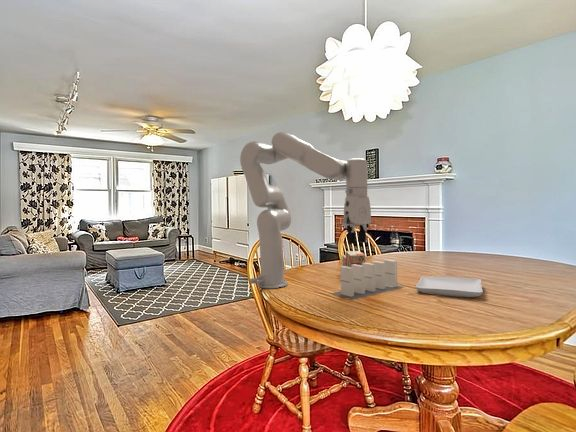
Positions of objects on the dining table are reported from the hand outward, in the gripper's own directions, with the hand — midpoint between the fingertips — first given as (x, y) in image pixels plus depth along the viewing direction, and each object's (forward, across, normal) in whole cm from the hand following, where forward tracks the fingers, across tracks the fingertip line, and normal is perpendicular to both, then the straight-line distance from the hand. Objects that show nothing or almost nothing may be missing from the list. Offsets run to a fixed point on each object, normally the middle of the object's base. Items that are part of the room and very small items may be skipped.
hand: (356, 242), depth 126 cm
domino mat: (+19, +6, -1) cm, 20 cm away
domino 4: (+18, +11, -1) cm, 21 cm away
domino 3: (+18, +6, -1) cm, 19 cm away
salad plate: (+19, +28, -20) cm, 39 cm away
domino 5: (+18, +17, -2) cm, 25 cm away
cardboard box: (+19, +17, +18) cm, 32 cm away
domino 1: (+18, -5, 0) cm, 19 cm away
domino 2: (+18, 0, 0) cm, 18 cm away
